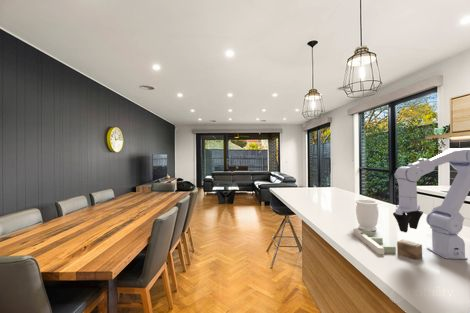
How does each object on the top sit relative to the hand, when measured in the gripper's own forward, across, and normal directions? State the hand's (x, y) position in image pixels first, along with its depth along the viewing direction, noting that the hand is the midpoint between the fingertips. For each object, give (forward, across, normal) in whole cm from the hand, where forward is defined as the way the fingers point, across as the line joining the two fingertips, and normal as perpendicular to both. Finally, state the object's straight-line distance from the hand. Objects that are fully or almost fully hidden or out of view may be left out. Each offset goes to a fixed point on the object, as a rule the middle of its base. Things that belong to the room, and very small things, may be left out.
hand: (408, 230), depth 87 cm
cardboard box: (+10, 0, 0) cm, 10 cm away
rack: (+10, 0, -14) cm, 17 cm away
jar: (+10, -17, -27) cm, 33 cm away
